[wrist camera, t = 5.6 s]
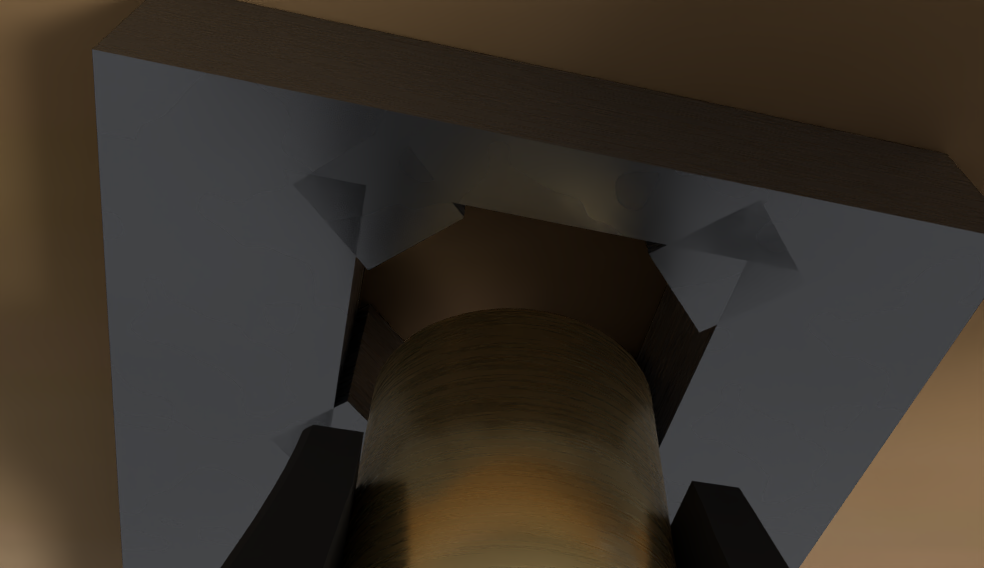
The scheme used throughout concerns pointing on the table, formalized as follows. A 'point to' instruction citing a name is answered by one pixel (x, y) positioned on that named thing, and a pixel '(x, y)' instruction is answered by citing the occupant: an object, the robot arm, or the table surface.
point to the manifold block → (504, 188)
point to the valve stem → (510, 451)
